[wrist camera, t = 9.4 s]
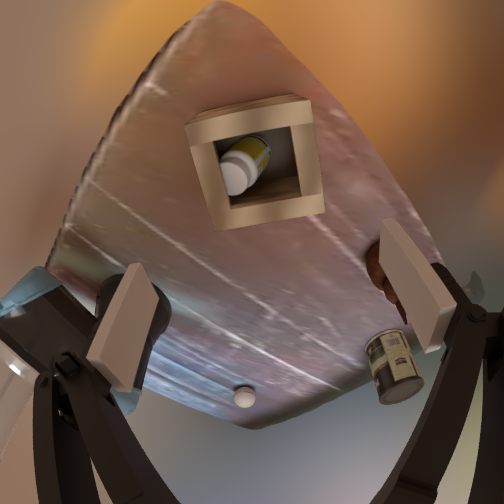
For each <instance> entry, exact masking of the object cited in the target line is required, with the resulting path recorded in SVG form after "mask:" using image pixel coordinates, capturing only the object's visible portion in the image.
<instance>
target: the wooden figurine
mask: <svg viewBox="0 0 504 504" xmlns="http://www.w3.org/2000/svg"><path fill="white" fill-rule="evenodd" d="M379 249H380V243H378V244H376V245H375V246H374V247H372V249H371V250H370V251H369V253H368V255H367V264H366V268H367V272H368V274H369V277H370V278H371V280H372V282H373V284H374V285H375V286H376V287H377V288H378V289H379V290H382V291H384V293H385V296H386V298H387V299H388V300H389V301H390V302H391V303H392V304H395V305H396V307H397V309H398V311H399V313H400V315H401V317H402V319H403V321H404V323H405V325H407V318H406V312H405V310H404V308H403V306H402V304H401V302H400V300H399V298H398V296H397V294H396V293H395V291H394V289H393V287H392V285H391V283H390V281H389V279H388V278H387V276H386V274H385V272H384V270H383V268H382V267H381V265H380V263H379Z"/></svg>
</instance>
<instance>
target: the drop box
mask: <svg viewBox="0 0 504 504" xmlns="http://www.w3.org/2000/svg"><path fill="white" fill-rule="evenodd" d="M184 129H185V132H186V136H187V139H188V143H189V146H190V150H191V153H192V157H193V160H194V164H195V167H196V170H197V174H198V177H199V180H200V184H201V187H202V191H203V194H204V197H205V201H206V204H207V207H208V210H209V214H210V217H211V220H212V223H213V227H214V230H215V232H218V231H223V230H229V229H234V228H240V227H245V226H251V225H256V224H262V223H267V222H273V221H279V220H284V219H290V218H296V217H302V216H308V215H314V214H320V213H325V207H324V197H323V188H322V179H321V171H320V163H319V155H318V148H317V141H316V134H315V127H314V121H313V115H312V108H311V103H310V100H309V99H306V98H304V97H301V96H299V95H296V94H288V95H281V96H275V97H269V98H263V99H258V100H253V101H247V102H242V103H238V104H233V105H229V106H224V107H220V108H216V109H211V110H207V111H204V112H201V113H200V114H198V115H197V116H196V117H194V118H193V119H192V120H190V121H189V122H187V123H186V124H185V125H184ZM248 135H256V136H259V137H261V138H263V139H264V140H265V141H266V142H267V143H268V145H269V146H270V149H271V159H270V161H269V163H268V164H267V166H266V167H265V169H264V170H263V171H262V173H261V174H260V176H259V177H258V179H257V180H256V181H255V183H254V184H253V185H252V186H250V187H248V188H246V189H245V191H244V192H242V193H241V194H239V195H233V196H232V195H228V193H227V189H226V185H225V182H224V178H223V174H222V170H221V166H220V163H219V160H220V158H221V157H222V156H223V155H224V154H225V153H226V152H227V151H228V150H229V149H230V148H231V147H232V146H233V145H234V144H236V143H237V142H238V141H239V140H240V139H241V138H243V137H245V136H248Z"/></svg>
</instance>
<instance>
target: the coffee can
mask: <svg viewBox="0 0 504 504" xmlns="http://www.w3.org/2000/svg"><path fill="white" fill-rule="evenodd" d="M365 352H366V355H367V358H368V361H369V364H370V367H371V371H372V374H373V378H374V381H375V385H376V388H377V392H378V396H379V402H380V403H381V404H384V405H390V404H395V403H399V402H402V401H404V400H406V399H409V398H410V397H412V396H414V395H415V394H416V393H418V392H419V391H420V390H421V389H422V388H423V386H424V380H423V379H422V377H421V375H420V372H419V369H418V367H417V364H416V362H415V359H414V357H413V354H412V352H411V350H410V347H409V345H408V343H407V340H406V338H405V335H404V333H403V332H402V331H401V330H398V329H391V330H386V331H383V332H381V333H379V334H377V335H376V336H374V337H373V338H372V339H370V340H369V342H368V343H367V344H366V347H365Z"/></svg>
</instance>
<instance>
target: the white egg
mask: <svg viewBox="0 0 504 504" xmlns="http://www.w3.org/2000/svg"><path fill="white" fill-rule="evenodd" d="M232 393H233V392H232ZM255 399H256V395H255V393H254V391H253V390H252V389H250V388H249V387H241V388H239V389H237V390H236V392H235V393H234V401H235V403H236V404H237V405H238V406H240V407H244V408H246V407H250V406H251V405H253V404H254V402H255Z"/></svg>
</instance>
